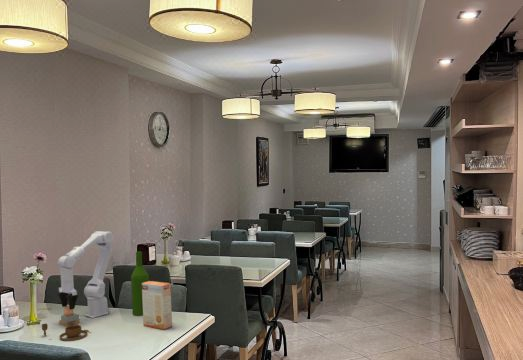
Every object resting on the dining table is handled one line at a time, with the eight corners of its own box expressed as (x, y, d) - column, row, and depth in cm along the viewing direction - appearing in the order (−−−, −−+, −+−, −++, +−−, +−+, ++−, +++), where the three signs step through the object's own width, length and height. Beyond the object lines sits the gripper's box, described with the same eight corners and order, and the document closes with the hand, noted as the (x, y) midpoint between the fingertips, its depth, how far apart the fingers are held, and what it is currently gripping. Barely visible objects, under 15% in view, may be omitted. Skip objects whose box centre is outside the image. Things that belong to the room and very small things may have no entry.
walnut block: (72, 322, 250) (72, 317, 250) (79, 324, 245) (79, 319, 245) (59, 325, 245) (59, 320, 245) (66, 328, 240) (66, 323, 240)
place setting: (61, 346, 215) (61, 333, 215) (39, 337, 228) (38, 325, 227) (97, 335, 228) (97, 322, 228) (74, 327, 241) (74, 315, 241)
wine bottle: (144, 310, 265) (141, 249, 265) (153, 313, 259) (150, 251, 258) (129, 314, 259) (126, 252, 258) (138, 317, 253) (135, 253, 252)
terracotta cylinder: (71, 313, 248) (70, 305, 248) (75, 314, 245) (74, 306, 245) (62, 315, 245) (62, 307, 245) (66, 316, 242) (66, 308, 242)
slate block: (72, 317, 249) (72, 312, 249) (78, 319, 245) (78, 314, 245) (61, 320, 245) (60, 315, 245) (67, 322, 241) (67, 317, 241)
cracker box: (172, 326, 235) (171, 282, 234) (163, 330, 230) (161, 285, 229) (152, 322, 243) (150, 280, 242) (143, 325, 238) (141, 282, 237)
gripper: (52, 280, 246) (53, 307, 247) (66, 283, 237) (67, 312, 237) (66, 277, 252) (67, 304, 252) (80, 281, 242) (81, 308, 242)
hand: (68, 307), depth 245 cm, fingers open, 7 cm apart
